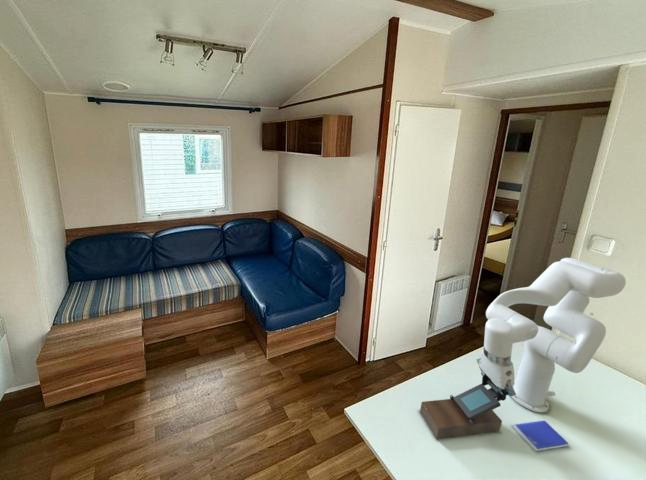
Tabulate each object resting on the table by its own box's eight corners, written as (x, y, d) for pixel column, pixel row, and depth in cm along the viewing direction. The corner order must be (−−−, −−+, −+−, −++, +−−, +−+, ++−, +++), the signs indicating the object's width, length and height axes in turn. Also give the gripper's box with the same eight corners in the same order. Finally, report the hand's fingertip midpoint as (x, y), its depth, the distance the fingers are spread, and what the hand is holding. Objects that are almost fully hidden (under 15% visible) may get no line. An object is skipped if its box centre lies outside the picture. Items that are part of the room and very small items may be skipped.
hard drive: (537, 448, 95) (568, 443, 97) (514, 424, 103) (544, 419, 105) (536, 451, 96) (567, 446, 97) (513, 427, 103) (543, 423, 105)
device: (491, 382, 107) (488, 374, 106) (509, 401, 100) (507, 393, 99) (454, 400, 108) (451, 392, 106) (469, 421, 100) (466, 413, 99)
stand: (477, 405, 111) (480, 392, 110) (499, 432, 101) (503, 418, 100) (419, 411, 109) (421, 397, 107) (436, 440, 99) (439, 425, 97)
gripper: (531, 370, 90) (525, 411, 96) (485, 332, 106) (483, 369, 112) (510, 377, 89) (505, 417, 95) (467, 337, 105) (465, 374, 111)
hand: (493, 391), depth 104 cm, fingers closed on device, 5 cm apart
